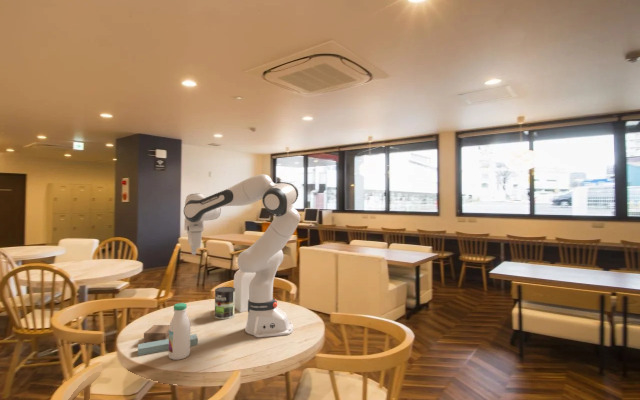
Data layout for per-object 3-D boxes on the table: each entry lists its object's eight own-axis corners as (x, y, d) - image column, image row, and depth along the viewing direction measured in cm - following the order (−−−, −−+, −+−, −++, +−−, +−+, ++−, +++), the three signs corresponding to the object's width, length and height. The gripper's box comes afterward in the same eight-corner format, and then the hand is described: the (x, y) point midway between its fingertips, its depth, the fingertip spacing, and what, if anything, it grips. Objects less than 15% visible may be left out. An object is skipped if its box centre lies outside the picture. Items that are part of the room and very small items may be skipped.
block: (174, 336, 144) (174, 324, 144) (165, 345, 135) (165, 333, 135) (153, 336, 144) (154, 325, 144) (143, 345, 135) (143, 333, 135)
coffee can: (227, 320, 163) (227, 292, 163) (210, 317, 166) (210, 290, 167) (238, 313, 173) (238, 287, 173) (222, 311, 176) (222, 285, 176)
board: (196, 340, 140) (196, 334, 140) (197, 345, 136) (197, 338, 136) (138, 351, 129) (138, 344, 129) (137, 357, 125) (137, 349, 125)
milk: (259, 308, 182) (260, 262, 182) (240, 312, 175) (241, 264, 175) (250, 303, 192) (251, 259, 192) (232, 306, 185) (232, 261, 185)
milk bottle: (193, 351, 130) (193, 301, 130) (185, 360, 122) (186, 307, 122) (173, 351, 129) (174, 301, 129) (165, 360, 122) (165, 307, 122)
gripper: (185, 225, 166) (184, 251, 166) (189, 228, 148) (189, 258, 148) (198, 224, 169) (197, 251, 169) (203, 227, 151) (203, 257, 151)
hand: (193, 254), depth 158 cm, fingers closed
